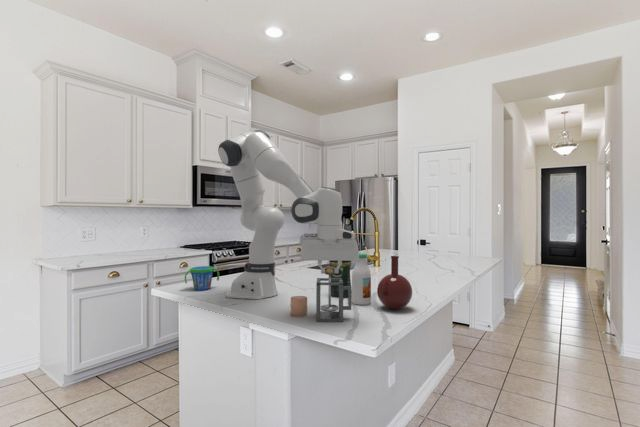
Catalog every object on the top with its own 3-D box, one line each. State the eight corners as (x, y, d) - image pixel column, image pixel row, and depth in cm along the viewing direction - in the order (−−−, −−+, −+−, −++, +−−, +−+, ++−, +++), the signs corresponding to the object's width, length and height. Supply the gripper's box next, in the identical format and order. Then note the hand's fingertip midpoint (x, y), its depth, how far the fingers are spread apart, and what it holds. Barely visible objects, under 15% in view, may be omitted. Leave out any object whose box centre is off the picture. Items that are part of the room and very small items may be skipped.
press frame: (316, 321, 121) (316, 283, 121) (317, 314, 130) (317, 278, 130) (352, 322, 121) (352, 283, 121) (350, 314, 130) (350, 278, 130)
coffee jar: (353, 294, 161) (354, 253, 161) (347, 298, 154) (347, 255, 154) (333, 292, 165) (334, 252, 165) (326, 296, 158) (326, 253, 158)
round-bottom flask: (403, 315, 129) (403, 259, 129) (370, 309, 137) (371, 256, 137) (417, 307, 139) (417, 256, 139) (386, 302, 147) (386, 253, 147)
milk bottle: (355, 306, 141) (356, 255, 141) (348, 301, 149) (349, 253, 149) (373, 304, 144) (374, 254, 143) (366, 300, 151) (366, 252, 151)
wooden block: (289, 316, 127) (289, 299, 127) (291, 312, 133) (291, 295, 133) (306, 316, 127) (306, 299, 126) (307, 312, 133) (307, 295, 132)
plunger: (320, 311, 122) (321, 268, 122) (321, 306, 128) (321, 265, 128) (338, 311, 122) (338, 268, 122) (337, 306, 128) (338, 265, 128)
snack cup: (184, 292, 163) (185, 270, 163) (184, 288, 172) (184, 266, 172) (220, 290, 169) (220, 268, 169) (217, 285, 178) (218, 265, 178)
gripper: (299, 234, 122) (299, 274, 122) (359, 234, 122) (359, 275, 122) (300, 233, 128) (300, 271, 129) (358, 233, 128) (358, 271, 128)
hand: (329, 273), depth 125 cm, fingers open, 3 cm apart
